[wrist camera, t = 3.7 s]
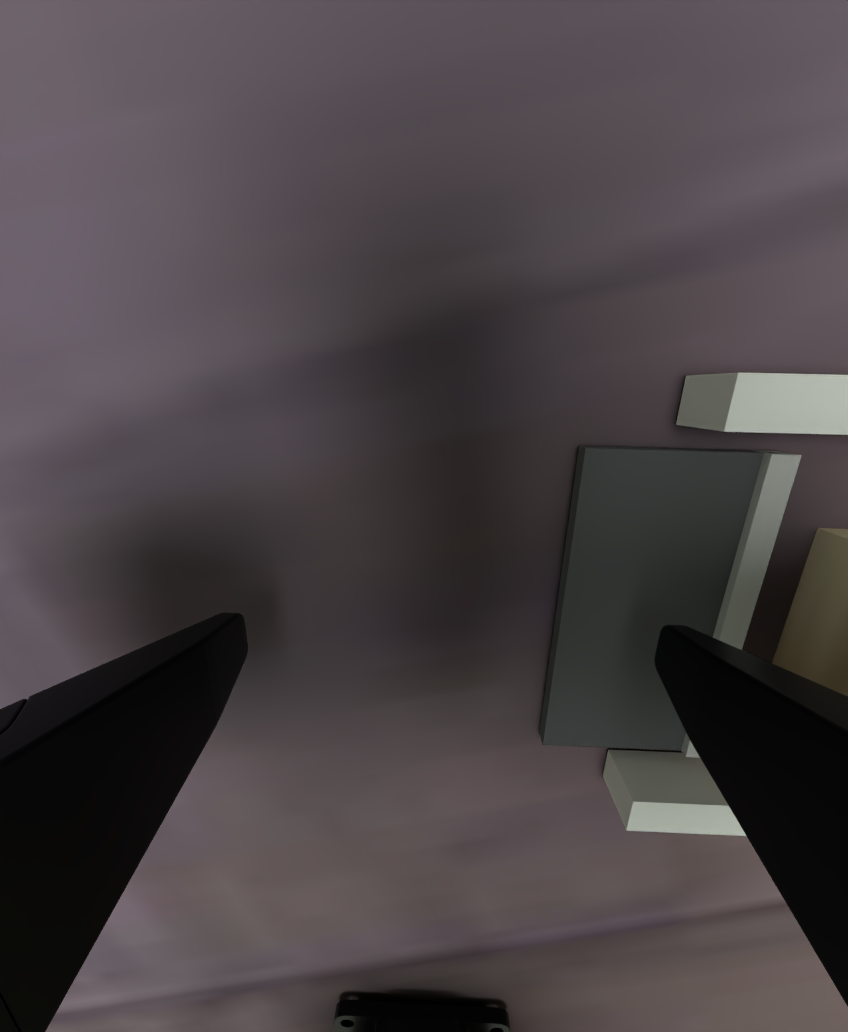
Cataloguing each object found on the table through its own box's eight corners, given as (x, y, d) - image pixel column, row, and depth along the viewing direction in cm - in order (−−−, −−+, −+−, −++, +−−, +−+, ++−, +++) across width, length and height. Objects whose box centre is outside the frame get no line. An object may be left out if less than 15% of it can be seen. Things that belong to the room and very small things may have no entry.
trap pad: (694, 738, 11) (708, 757, 11) (539, 732, 11) (544, 751, 11) (777, 451, 9) (801, 455, 8) (578, 445, 9) (589, 449, 8)
